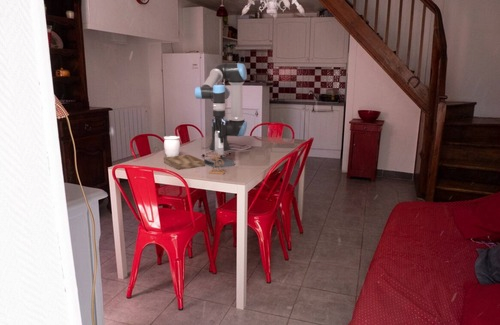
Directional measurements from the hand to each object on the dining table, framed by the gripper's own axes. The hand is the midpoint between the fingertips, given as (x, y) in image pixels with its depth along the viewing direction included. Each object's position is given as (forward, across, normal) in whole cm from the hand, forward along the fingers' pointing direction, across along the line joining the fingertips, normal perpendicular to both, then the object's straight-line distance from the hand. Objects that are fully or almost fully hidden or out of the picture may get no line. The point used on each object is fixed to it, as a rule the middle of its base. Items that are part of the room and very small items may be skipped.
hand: (219, 146), depth 240 cm
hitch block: (+12, 0, 0) cm, 12 cm away
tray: (+12, -12, -19) cm, 25 cm away
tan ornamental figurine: (+12, +18, -12) cm, 25 cm away
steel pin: (+5, 0, 0) cm, 5 cm away
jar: (+12, -32, -18) cm, 39 cm away
